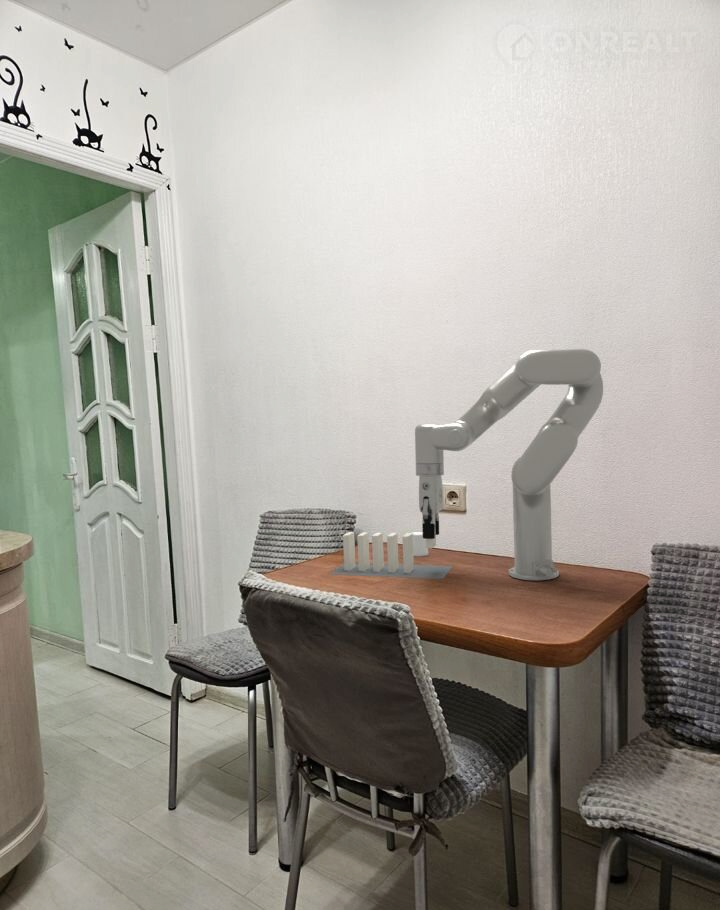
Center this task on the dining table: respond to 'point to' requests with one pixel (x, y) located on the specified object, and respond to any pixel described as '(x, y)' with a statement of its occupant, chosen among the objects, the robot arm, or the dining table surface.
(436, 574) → the mat
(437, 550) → the dining table surface
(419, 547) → the white cup
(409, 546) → the domino
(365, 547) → the domino
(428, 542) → the domino
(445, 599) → the dining table surface
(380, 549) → the domino
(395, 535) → the domino
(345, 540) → the domino
